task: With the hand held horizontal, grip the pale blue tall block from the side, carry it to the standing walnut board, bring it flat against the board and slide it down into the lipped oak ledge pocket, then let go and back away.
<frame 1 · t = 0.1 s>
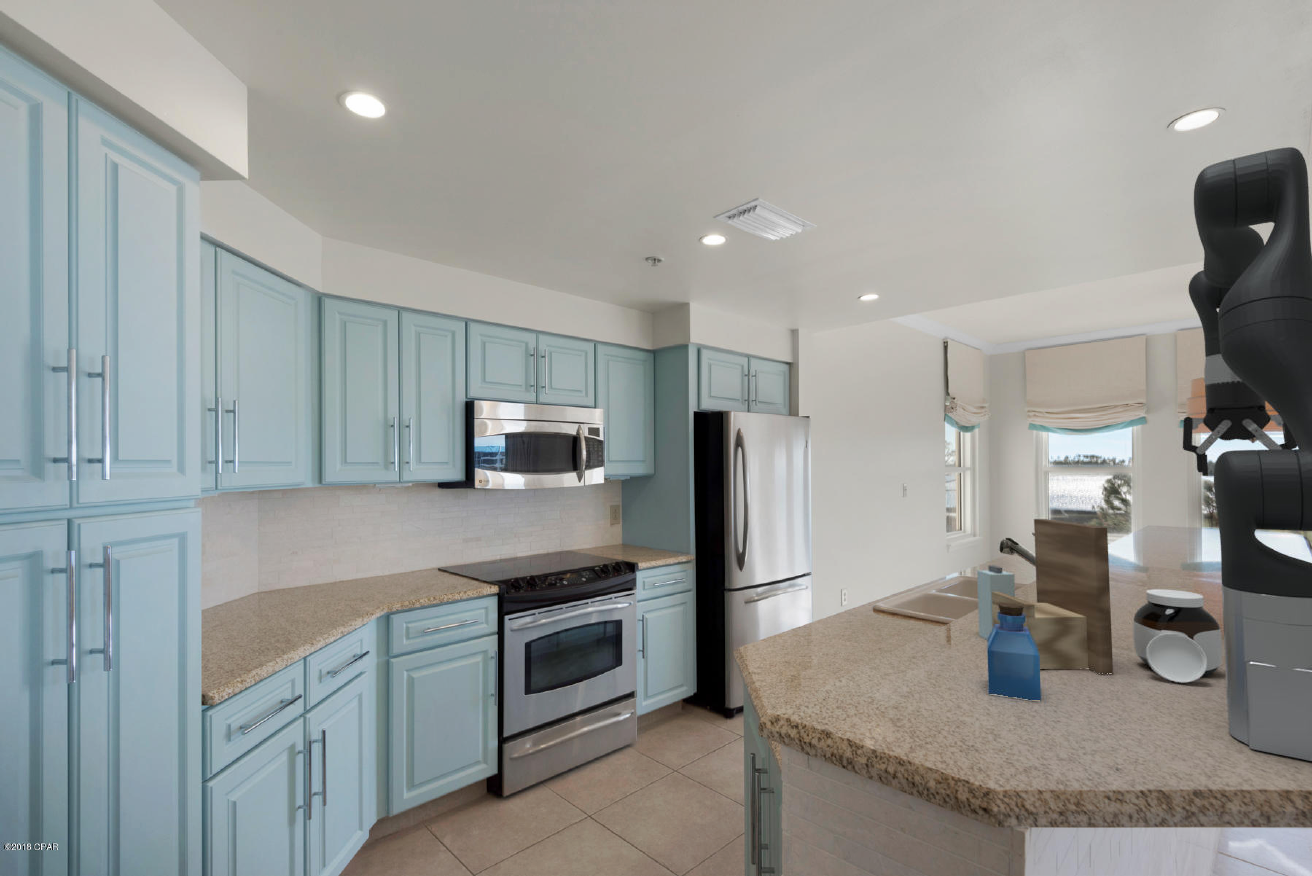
hand: (1238, 475, 107), 29 cm above the counter, tool pointing down, fingers open, 8 cm apart
perfume bottle: (1013, 692, 88), on the counter
spread jar: (1179, 675, 95), on the counter
cleat board: (1047, 659, 102), on the counter
pale blue tall block: (997, 638, 114), on the counter
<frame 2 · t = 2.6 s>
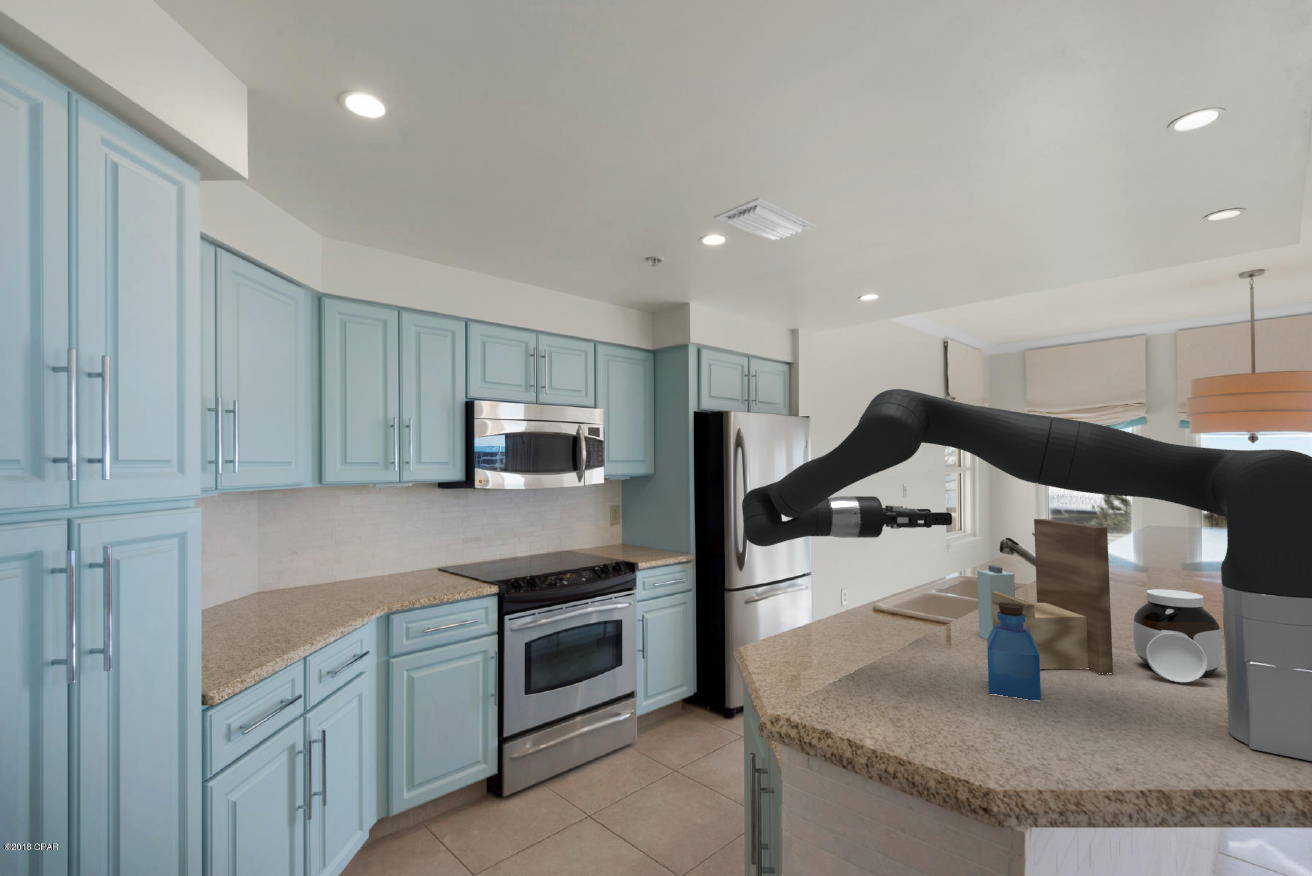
hand: (940, 516, 115), 22 cm above the counter, tool horizontal, fingers open, 8 cm apart
nothing on the counter moved.
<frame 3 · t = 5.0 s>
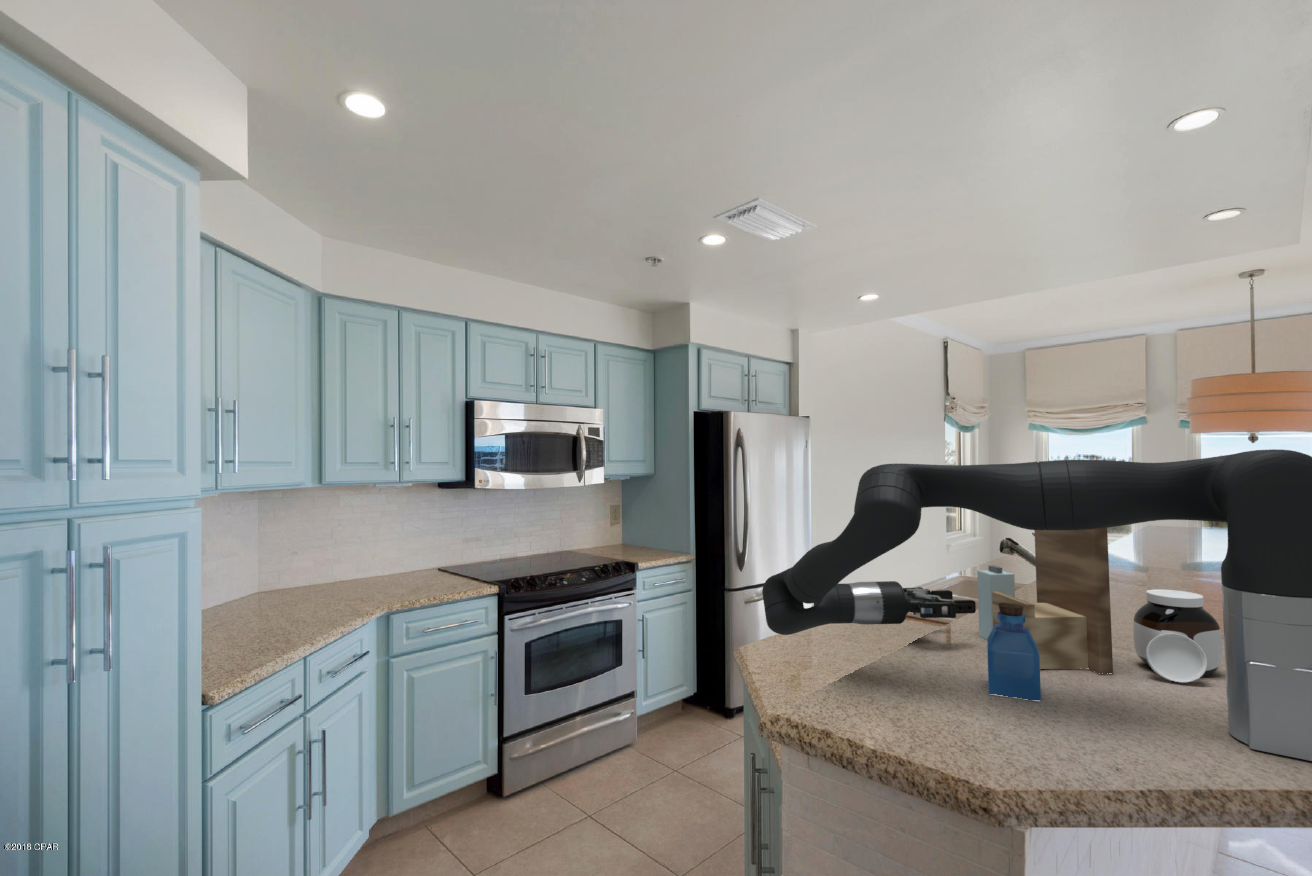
hand: (962, 601, 114), 7 cm above the counter, tool horizontal, fingers open, 8 cm apart
nothing on the counter moved.
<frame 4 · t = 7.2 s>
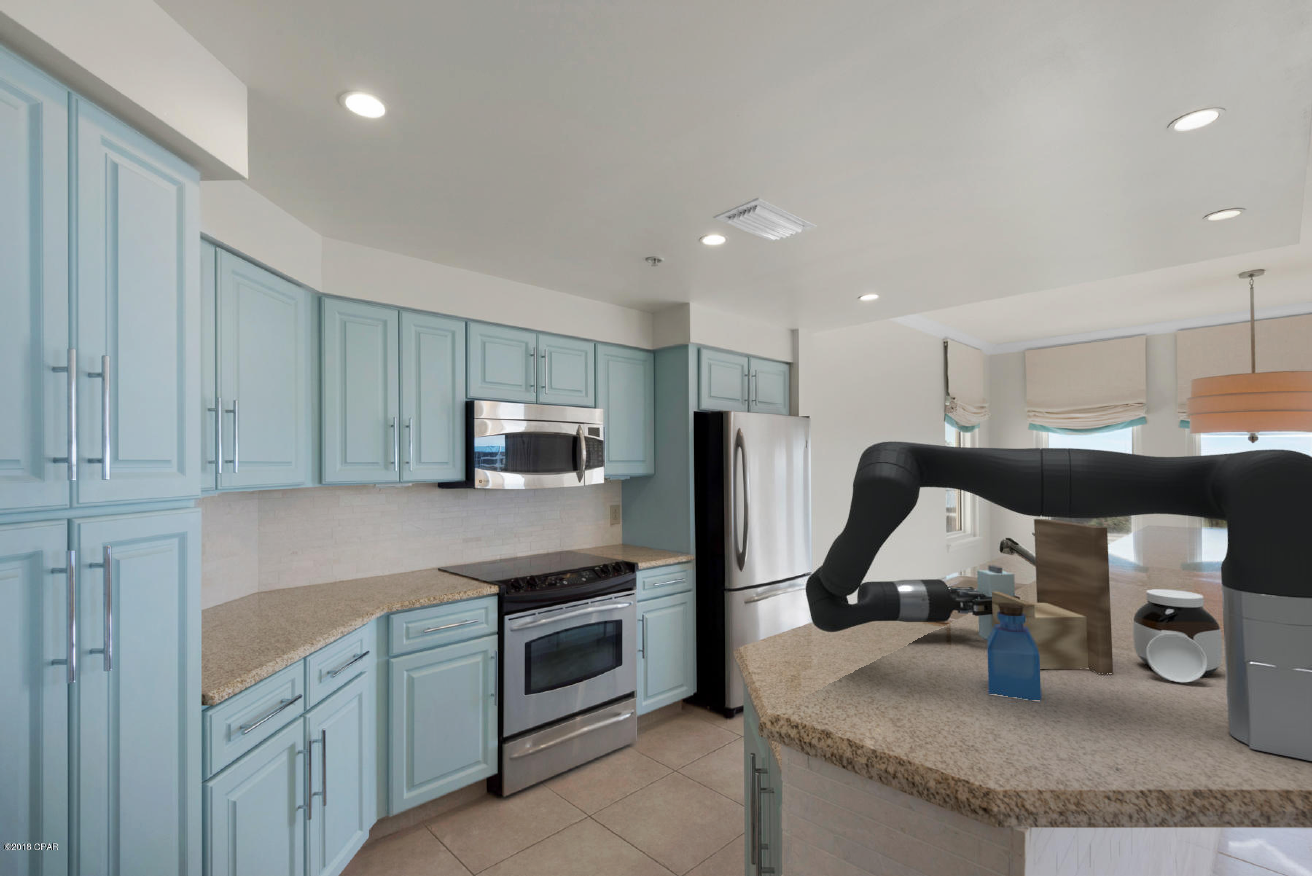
hand: (1010, 599, 115), 7 cm above the counter, tool horizontal, fingers closed on pale blue tall block, 4 cm apart
pale blue tall block: (997, 638, 114), on the counter, touching gripper
everything else where it was.
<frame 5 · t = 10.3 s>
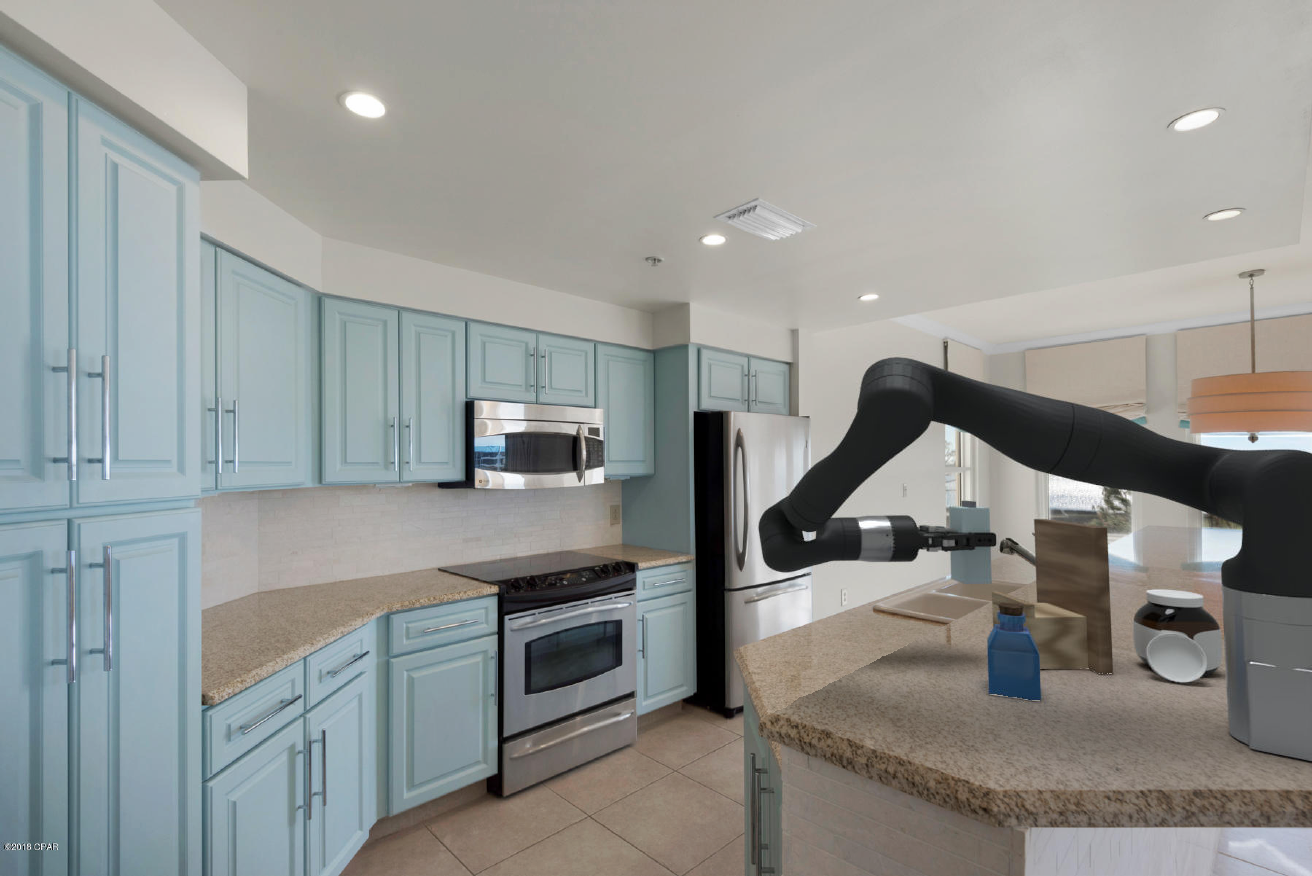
hand: (986, 537, 103), 20 cm above the counter, tool horizontal, fingers closed on pale blue tall block, 4 cm apart
pale blue tall block: (971, 581, 102), point 13 cm above the counter, touching gripper
everything else where it was.
when the fingers open (16 cm above the counter, at t = 13.8 s): pale blue tall block stays where it is, resting on cleat board.
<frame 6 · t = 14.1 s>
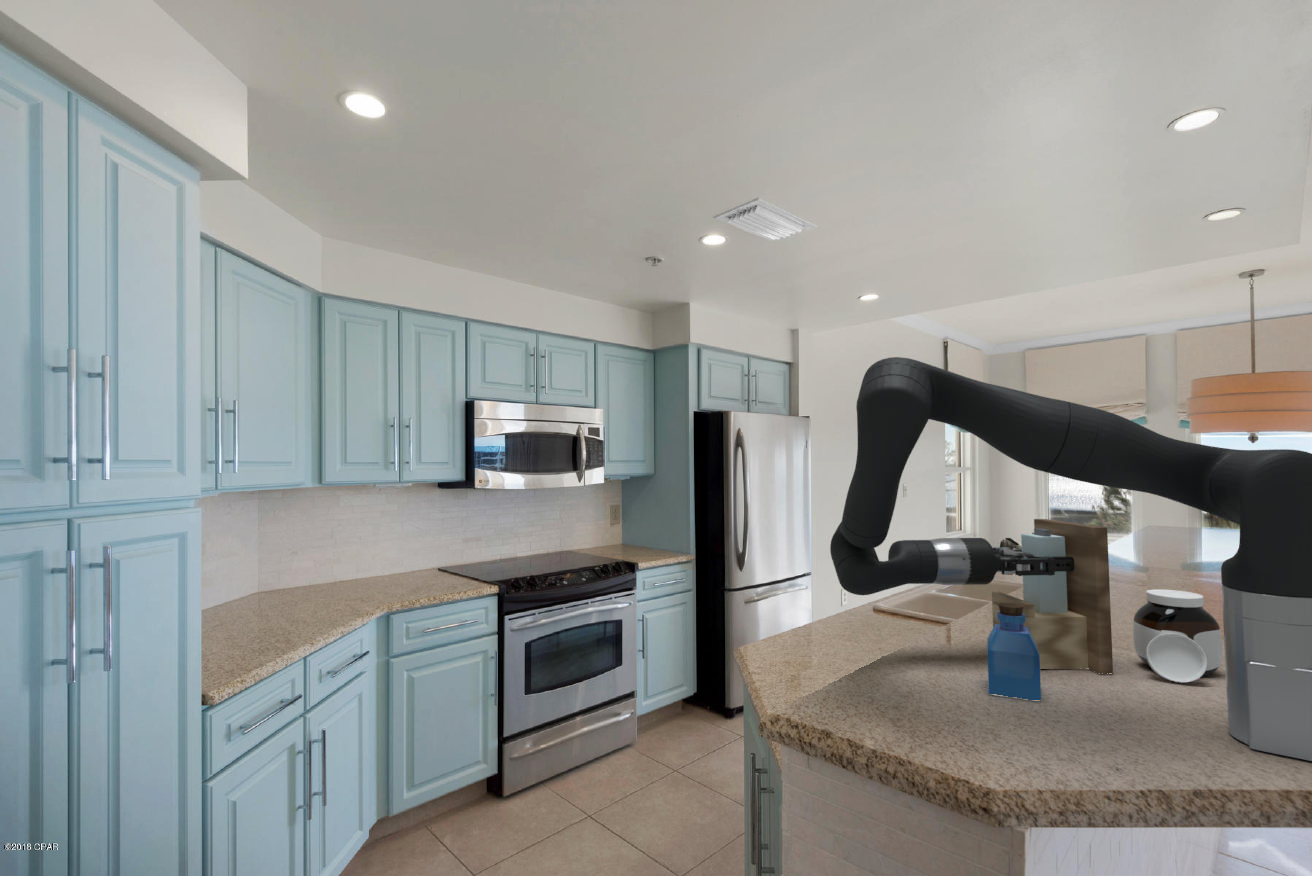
hand: (1056, 560, 103), 16 cm above the counter, tool horizontal, fingers open, 7 cm apart
pale blue tall block: (1045, 609, 102), point 8 cm above the counter, touching cleat board
everything else where it was.
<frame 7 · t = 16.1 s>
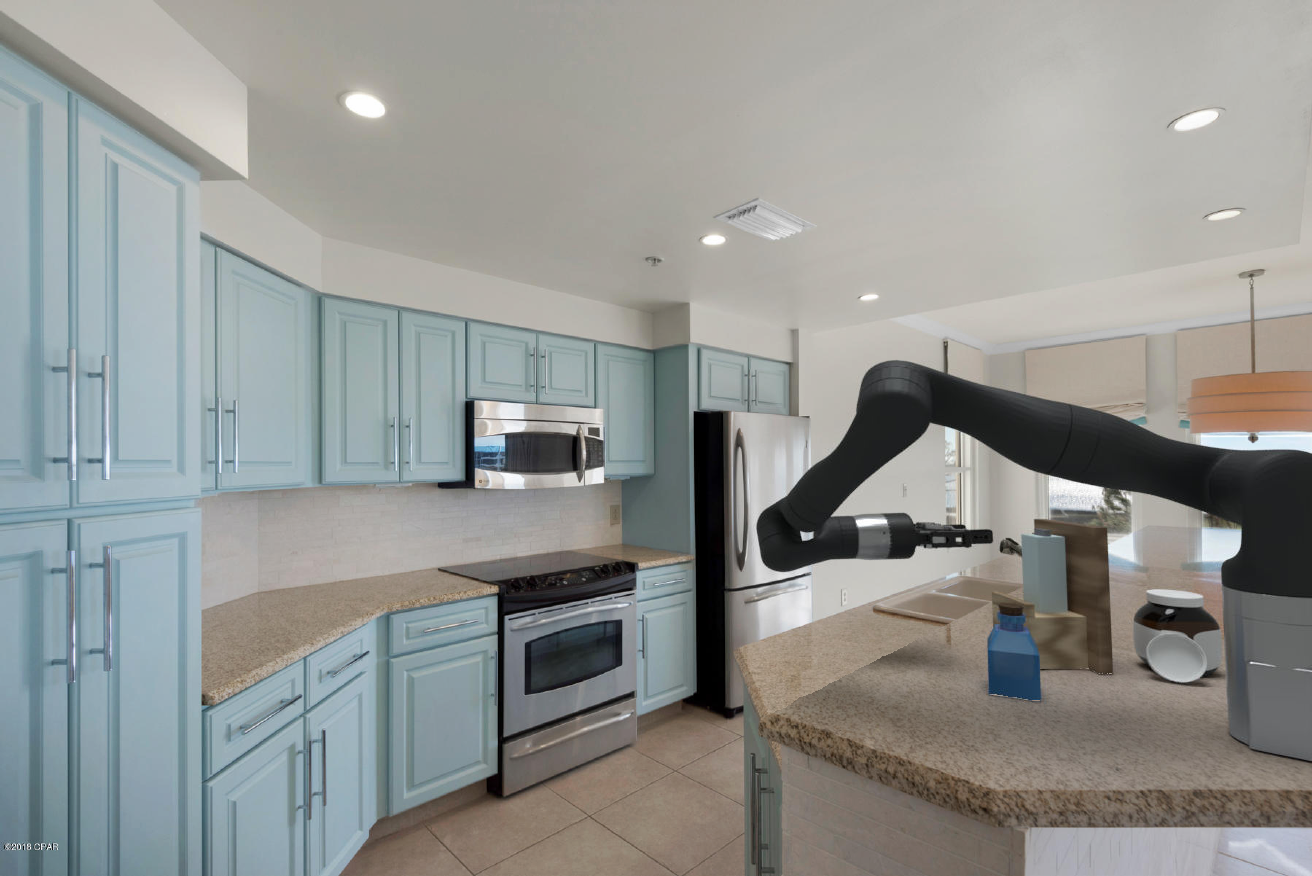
hand: (977, 533, 104), 20 cm above the counter, tool horizontal, fingers open, 8 cm apart
nothing on the counter moved.
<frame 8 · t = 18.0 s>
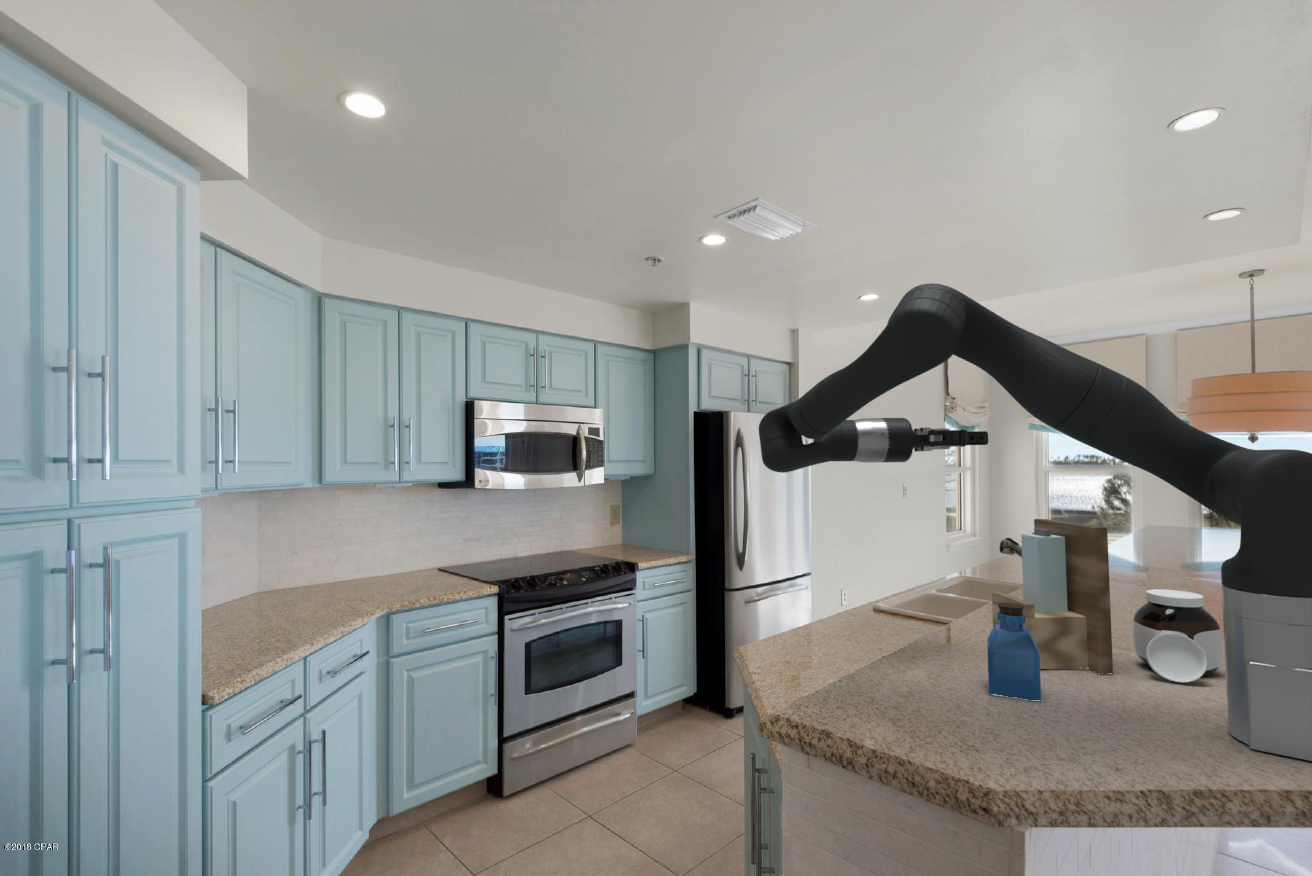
hand: (973, 439, 106), 36 cm above the counter, tool horizontal, fingers open, 8 cm apart
nothing on the counter moved.
at the end: pale blue tall block inside the target area on the cleat board (0.1 cm from its centre), point 8.0 cm above the cleat board's base; pale blue tall block tilted 0°; the gripper is holding nothing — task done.
